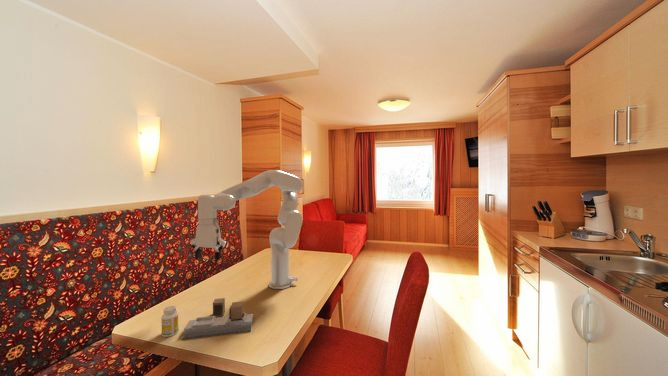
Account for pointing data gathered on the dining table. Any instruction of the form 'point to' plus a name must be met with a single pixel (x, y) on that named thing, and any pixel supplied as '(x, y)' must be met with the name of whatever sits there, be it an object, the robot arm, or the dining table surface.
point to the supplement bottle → (169, 321)
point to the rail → (220, 324)
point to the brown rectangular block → (219, 307)
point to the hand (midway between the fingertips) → (208, 259)
